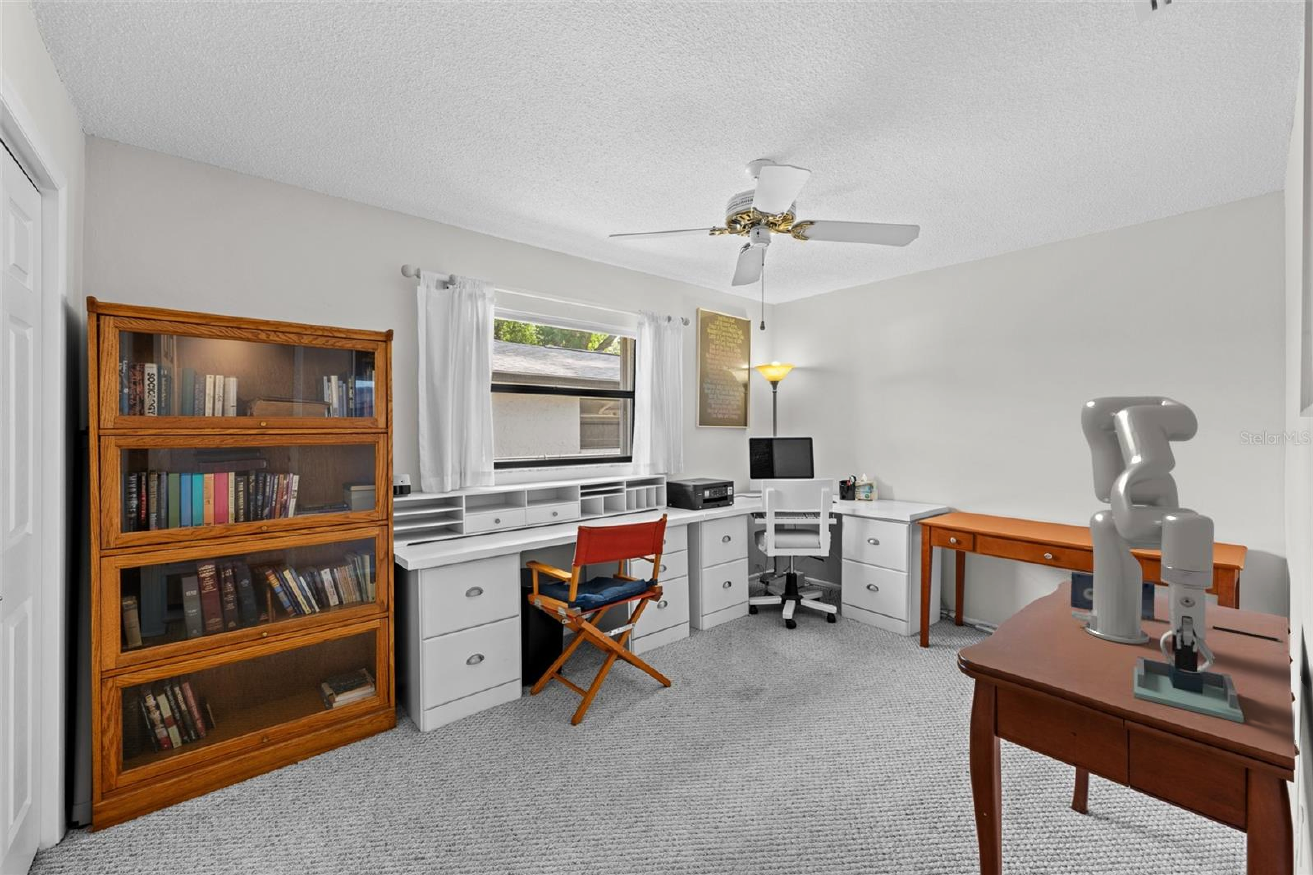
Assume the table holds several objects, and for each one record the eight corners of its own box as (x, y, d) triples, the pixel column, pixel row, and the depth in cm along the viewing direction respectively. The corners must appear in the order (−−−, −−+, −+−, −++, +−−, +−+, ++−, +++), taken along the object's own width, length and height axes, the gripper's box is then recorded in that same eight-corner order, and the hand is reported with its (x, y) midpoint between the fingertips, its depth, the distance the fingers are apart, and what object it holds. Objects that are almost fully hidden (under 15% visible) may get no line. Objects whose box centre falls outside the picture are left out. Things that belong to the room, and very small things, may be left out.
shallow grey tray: (1134, 697, 111) (1134, 679, 111) (1134, 670, 122) (1134, 654, 122) (1243, 723, 101) (1244, 704, 101) (1232, 692, 113) (1233, 674, 113)
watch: (1216, 696, 109) (1218, 640, 109) (1161, 685, 114) (1162, 631, 113) (1210, 685, 113) (1212, 631, 113) (1157, 675, 118) (1158, 623, 118)
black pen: (1282, 643, 138) (1283, 638, 138) (1282, 644, 137) (1282, 640, 137) (1213, 629, 147) (1213, 625, 147) (1212, 630, 146) (1212, 626, 146)
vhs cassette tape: (1154, 618, 154) (1155, 582, 154) (1154, 621, 152) (1155, 584, 152) (1071, 604, 166) (1071, 570, 166) (1070, 606, 164) (1070, 572, 164)
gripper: (1217, 590, 103) (1215, 682, 103) (1208, 570, 116) (1206, 652, 117) (1162, 582, 108) (1160, 671, 108) (1159, 564, 121) (1157, 643, 121)
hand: (1184, 661), depth 112 cm, fingers open, 9 cm apart
